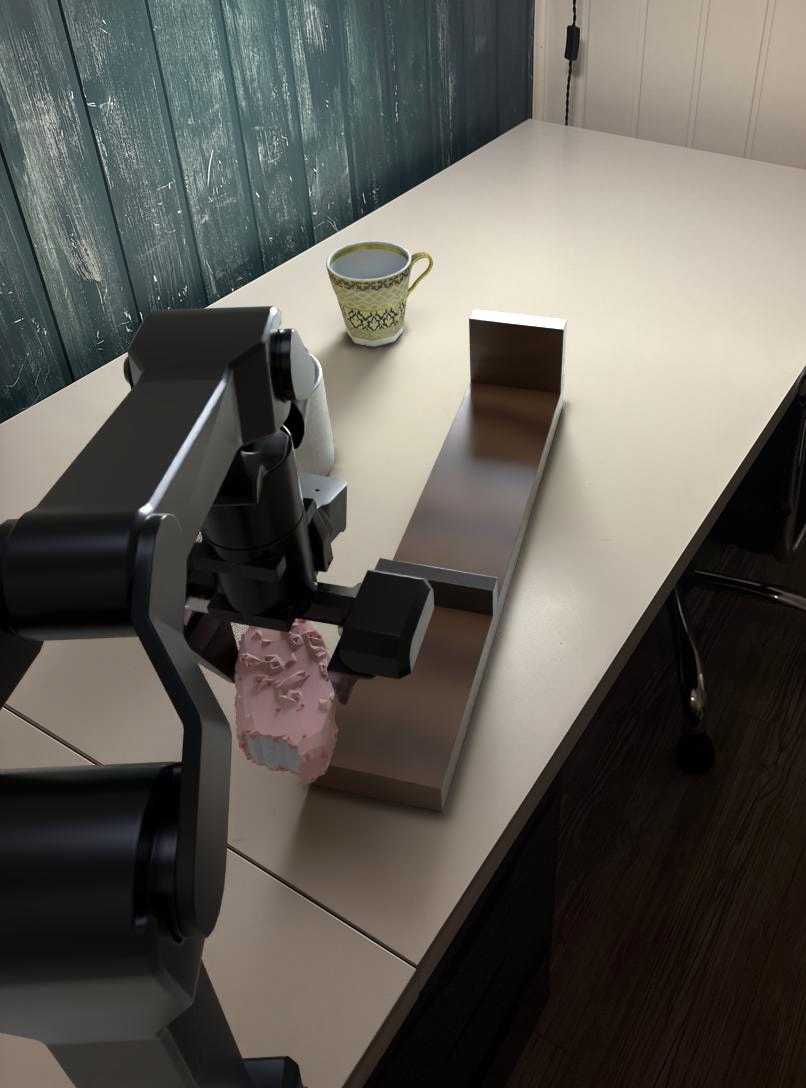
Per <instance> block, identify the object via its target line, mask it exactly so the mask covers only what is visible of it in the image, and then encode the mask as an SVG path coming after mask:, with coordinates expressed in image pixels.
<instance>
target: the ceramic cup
mask: <svg viewBox="0 0 806 1088" xmlns="http://www.w3.org/2000/svg"><path fill="white" fill-rule="evenodd" d="M422 259H428V262H429V263H428V266H427V268H426V269H425V270H424V271H423V272H422V273H421V274H420V275H418V277H417V278H416V279H415V280H414V282H413V283H412V284H411V286H410V280H411V279H410V278H411V271H412V269H413V266H414V265H415V264H416V263H417V262H419V261H421V260H422ZM433 266H434V260H433V258H432V256H431V255H430V254H429V253H427V252H424V251H419V252H415V253H412V255H411V253H410V252H409V250H408V249H406V248H405V247H403V246H402V245H399V244H397V243H394V242H389V241H384V240H364V241H357V242H352V243H348V244H345V245H343V246H341V247H339V248H337V249H335V250H333V251H332V252H331V253H330V254H329V255H328V257H326V261H325V267H326V270H327V274H328V278H329V281H330V284H331V288H332V290H333V291H334V294H335V296H336V300H337V303H338V306H339V309H340V313H341V315H342V319H343V323H344V325H345V327H346V332H347V334H348V336H349V337H350V338H351V340H352V342H353V343H354V344H357V345H362V346H367V347H373V348H376V347H379V346H384V345H387V344H391V343H392V344H393V343H394V342H395V341H396V340H397V339H398V338H399V337H400V336H401V334H403V332H404V328H405V327H404V326H405V316H406V309H407V301H408V298H409V296H410V294H411V293H412V292H414V291H415V289H416V287H417V286H418V285H419V284H420V282H421V281H423V279H425V277H426V276H428V275H429V273H430V272H431V271H432V269H433ZM409 286H410V287H409Z"/></svg>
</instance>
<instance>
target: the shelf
mask: <svg viewBox="0 0 806 1088" xmlns="http://www.w3.org/2000/svg"><path fill="white" fill-rule="evenodd" d="M567 327H568V320H567V319H561V318H552V317H544V316H534V315H526V314H518V313H509V312H500V311H490V310H482V309H472V312H471V313H470V316H469V318H468V333H469V335H468V339H469V343H468V344H469V378H470V379H469V381H470V382H469V384H468V387H467V388H466V391H465V394H464V396H463V397H462V400H461V402H460V405H459V407H458V410H457V412H456V413H455V417H454V418H453V420H452V423H451V426H450V428H449V430H448V433H447V434H446V436H445V439H444V441H443V444H442V446H441V449H440V451H439V453H438V455H437V458H436V460H435V462H434V464H433V467H432V469H431V470H430V474H429V476H428V478H427V480H426V483H425V485H424V487H423V489H422V491H421V493H420V496H419V499H418V501H417V503H416V505H415V508H414V510H413V513H412V514H411V517H410V519H409V521H408V524H407V525H406V527H405V530H404V533H403V535H402V537H401V540H400V541H399V544H398V547H397V549H396V551H395V553H394V556H393V558H392V559H389V558H382V557H379V558H378V561H377V563H376V565H375V567H374V569H373V570H378V571H384V572H390V573H397V574H403V575H409V576H415V577H421V578H427V580H428V582H429V583H430V585H431V587H432V588H433V595H434V609H433V612H432V615H431V618H430V621H429V624H428V627H427V629H426V632H425V635H424V638H423V641H422V644H421V647H420V650H419V652H418V655H417V658H416V661H415V664H414V667H413V670H412V673H411V674H409V675H407V676H405V677H403V678H401V679H399V680H398V679H393V678H387V677H382V676H376V677H375V678H373V679H371V680H364V679H359V680H358V681H357V682H356V683H355V685H354V688H353V691H352V693H351V696H350V698H349V701H348V703H347V705H344V704H341V703H340V702H339V700H338V699H337V698H336V695H335V692H334V691H333V694H334V695H335V698H336V701H337V703H336V713H335V723H336V726H337V728H338V735H337V741H336V743H335V748H333V753H332V757H331V759H330V762H329V766H328V769H327V772H326V773H325V774H324V775H321V776H319V777H318V778H317V779H316V780H315V781H314V782H311V783H310V784H311V785H317V786H321V787H324V788H325V787H326V788H330V789H334V790H340V791H344V792H348V793H353V794H358V795H361V796H367V797H371V798H374V799H375V798H376V799H379V800H380V799H381V800H385V801H389V802H394V803H398V804H403V805H408V806H412V807H417V808H421V809H425V810H430V811H435V812H440V813H443V812H444V808H445V804H446V802H447V799H448V795H449V792H450V789H451V785H452V781H453V778H454V774H455V772H456V768H457V765H458V761H459V758H460V754H461V751H462V747H463V744H464V740H465V737H466V734H467V731H468V728H469V724H470V720H471V718H472V714H473V710H474V707H475V703H476V700H477V697H478V693H479V690H480V687H481V683H482V681H483V677H484V673H485V669H486V666H487V663H488V659H489V656H490V653H491V650H492V646H493V643H494V640H495V635H496V633H497V630H498V627H499V626H498V625H499V623H500V620H501V616H502V612H503V609H504V606H505V602H506V599H507V596H508V592H509V589H510V585H511V582H512V578H513V575H514V572H515V568H516V564H517V562H518V558H519V555H520V551H521V548H522V544H523V541H524V537H525V534H526V531H527V528H528V525H529V521H530V518H531V514H532V511H533V508H534V504H535V501H536V498H537V494H538V490H539V487H540V484H541V480H542V477H543V473H544V470H545V467H546V463H547V460H548V457H549V454H550V453H549V452H550V450H551V446H552V444H553V441H554V436H555V433H556V430H557V427H558V423H559V419H560V416H561V413H562V410H563V406H564V388H565V387H564V386H565V384H564V383H565V368H566V367H565V366H566V347H567V329H568V328H567Z"/></svg>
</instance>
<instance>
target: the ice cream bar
mask: <svg viewBox="0 0 806 1088" xmlns="http://www.w3.org/2000/svg"><path fill="white" fill-rule="evenodd" d="M238 646H239V647H238V651H239V652H238V657H237V661H236V665H235V670H236V673H235V684H234V687H235V689H236V690H235V691H236V694H235V696H234V709H235V710H234V711H235V724H236V727H235V734H236V735H235V736H236V740H237V741H238V748H239V749H240V750H241V751H242V752H243V753H244V756H245V757H246V760H247V761H251V763H252V764H255V765H256V766H258V767H261V766H265V767H266V768H267V769H268V770H269V771H270V772H283V773H285V772H289V773H290V774H292V775H294V776H297V777H298V778H300V780H299V781H300V782H299V783H300V784H301V785H302V786H307V785H310V784H311V782H314V781H315V780H316V779H317V778H318V777H319V776H321V775H324V774H325V773H326V772H327V769H328V766H329V762H330V759H331V757H332V753H333V748H335V743H336V741H337V735H338V728H337V726H336V723H335V713H336V703H337V701H336V698H335V695H334V690H333V687H332V684H331V681H330V679H329V676H328V673H327V666H328V664H329V662H330V660H331V655H330V653H329V650H328V648H327V644H326V643H325V641H324V639H323V636H322V634H321V633H320V632H319V630H318V629H317V628H316V627H315V626H314V625H313V623H312V621H308V620H303V619H295V621H294V623H293V625H292V627H291V629H290V631H289V633H287V632H282V631H276V630H270V629H265V628H259V627H254V626H247V629H246V631H245V632H244V633H242V634H241V636H240V639H238Z"/></svg>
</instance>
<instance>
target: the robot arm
mask: <svg viewBox="0 0 806 1088" xmlns="http://www.w3.org/2000/svg"><path fill="white" fill-rule="evenodd" d="M282 323H283V313H282V311H281V310H280V309H279V308H278V307H277V306H276V305H264V306H263V305H262V306H232V307H231V306H229V307H201V308H170V309H169V308H168V309H153V310H150V311H149V312H148V313H147V314H146V315H145V317H144V318H143V319H142V321H141V322H140V325H139V327H138V329H137V330H136V332H135V334H134V335H133V336H132V338H131V339H130V342H129V343H127V349H126V351H127V357H125V359H124V361H123V369H122V371H123V377H124V379H125V381H126V383H127V384H128V385H129V387H130V391H129V392H128V393H126V395H125V397H124V398H123V400H122V401H121V402H120V403H119V404H118V405H117V406H116V408H115V409H114V410H113V412H112V413H111V414H110V415H109V416H108V417H107V419H106V420H105V421H104V423H103V424H102V425H101V426H100V428H98V430H97V431H96V432H95V434H93V436H92V437H91V438H90V440H89V441H88V442H87V443H86V445H85V446H84V447H83V449H82V450H81V451H80V452H78V455H77V456H76V457H75V458H74V459H73V461H72V462H71V463H70V465H68V466H67V468H66V469H65V471H64V472H63V473H62V474H61V475H60V476H59V477H58V479H57V480H56V481H55V483H54V484H53V485H52V486H51V488H50V489H49V490H48V491H47V492H46V494H45V495H44V496H43V497H42V498H41V500H39V502H38V503H37V505H36V506H35V507H34V508H32V509H30V510H27V511H25V512H24V513H23V514H22V515H21V516H19V517H18V518H8V519H5V520H4V521H3V522H2V523H0V711H2V709H3V708H4V706H5V704H6V703H7V702H8V700H9V699H10V697H11V696H12V694H13V693H14V691H15V690H16V688H17V687H18V686H19V684H20V682H22V680H23V678H24V676H25V675H26V674H27V672H28V670H29V669H30V668H31V666H32V664H33V663H34V662H35V660H36V659H37V657H38V656H39V654H40V652H41V651H42V649H43V646H44V643H45V642H48V641H49V642H51V641H73V640H75V641H76V640H98V639H121V638H122V639H123V638H125V639H126V638H138V640H139V641H140V644H141V646H142V647H143V650H144V651H145V654H146V656H147V657H148V659H149V661H150V663H151V665H152V667H153V670H154V671H155V673H156V675H157V677H158V679H159V681H160V683H161V685H162V686H163V689H164V691H165V693H166V695H167V697H168V698H169V700H170V702H171V704H172V706H173V708H174V710H175V712H176V714H177V716H178V718H179V720H180V722H181V724H182V729H183V734H182V746H181V747H182V748H181V760H180V761H154V762H151V761H150V762H132V763H131V762H130V763H109V764H106V763H105V764H87V765H86V764H85V765H84V764H83V765H62V766H61V765H59V766H42V767H41V766H40V767H39V766H38V767H19V768H18V767H17V768H0V1034H3V1035H8V1036H13V1037H19V1038H23V1039H27V1040H34V1041H37V1042H40V1043H41V1044H43V1045H44V1046H45V1047H46V1048H47V1049H48V1051H49V1052H50V1054H51V1055H52V1056H53V1058H54V1059H55V1060H56V1062H57V1063H58V1065H59V1066H60V1068H61V1069H62V1071H63V1072H64V1073H65V1075H66V1076H67V1078H68V1079H69V1080H70V1082H71V1083H72V1084H73V1086H74V1087H75V1088H309V1087H308V1085H307V1086H306V1085H304V1083H303V1080H302V1075H301V1070H300V1064H298V1062H297V1061H296V1060H294V1059H293V1058H292V1057H291V1056H290V1055H276V1056H275V1055H274V1056H258V1057H257V1056H256V1057H243V1056H242V1054H241V1051H240V1049H239V1046H238V1044H237V1041H236V1039H235V1037H234V1034H233V1031H232V1029H231V1027H230V1024H229V1022H228V1019H227V1017H226V1014H225V1012H224V1009H223V1007H222V1005H221V1003H220V1001H219V1000H220V999H219V998H218V995H217V992H216V990H215V988H214V985H213V983H212V981H211V978H210V975H209V973H208V971H207V968H206V965H205V963H204V961H203V959H202V958H203V953H204V949H205V948H204V947H205V942H206V939H209V937H210V935H211V934H212V933H213V931H214V930H215V928H216V925H217V922H218V919H219V916H220V913H221V909H222V903H223V898H224V891H225V883H226V875H227V874H226V872H227V860H228V859H227V858H228V838H229V837H228V836H229V815H230V792H231V791H230V790H231V771H232V770H231V769H232V749H233V748H232V746H233V734H232V728H231V724H230V721H229V720H228V718H227V716H226V714H225V712H224V710H223V709H222V706H221V705H220V702H219V701H218V699H217V697H216V695H215V693H214V692H213V689H212V687H211V685H210V684H209V681H208V680H207V677H206V676H205V674H204V672H203V670H202V668H201V666H202V667H203V668H205V669H207V670H208V671H210V672H211V673H213V674H215V675H216V676H218V677H219V678H221V679H222V680H224V681H226V682H227V683H229V684H233V685H235V673H236V670H235V665H236V661H237V657H238V652H239V647H238V644H237V640H236V637H235V633H234V630H233V627H232V624H237V625H242V626H243V625H244V626H247V627H249V626H254V627H259V628H265V629H270V630H276V631H282V632H287V633H289V631H290V629H291V627H292V625H293V623H294V621H295V619H303V620H308V621H310V622H315V623H320V624H325V625H332V626H336V627H337V633H338V636H340V637H339V639H338V641H337V644H336V645H335V648H334V651H333V653H332V655H331V656H330V659H331V660H330V662H329V664H328V666H327V673H328V676H329V679H330V681H331V684H332V687H333V690H332V691H333V693H334V692H335V695H336V698H337V699H338V700H339V702H340V703H341V704H344V705H347V703H348V701H349V698H350V696H351V693H352V691H353V688H354V685H355V683H356V682H357V681H358V680H359V679H364V680H371V679H373V678H375V677H376V676H382V677H387V678H393V679H398V680H399V679H401V678H403V677H405V676H407V675H409V674H411V673H412V670H413V667H414V664H415V661H416V658H417V655H418V652H419V650H420V647H421V644H422V641H423V638H424V635H425V632H426V629H427V627H428V624H429V621H430V618H431V615H432V612H433V609H434V595H433V588H432V587H431V585H430V583H429V582H428V580H427V578H421V577H415V576H409V575H403V574H397V573H390V572H384V571H378V570H374V569H367V570H366V572H365V575H364V577H363V580H362V581H361V582H358V583H357V584H355V585H354V586H346V585H339V584H333V583H329V582H328V583H327V582H321V581H318V578H317V577H318V574H319V573H320V572H321V573H328V570H329V568H330V567H331V564H332V562H333V561H334V554H333V547H332V543H333V541H334V540H335V539H336V538H337V537H339V536H340V534H341V533H344V532H345V531H346V529H347V517H348V515H347V514H348V513H347V512H348V510H347V509H348V482H347V481H346V480H345V479H342V478H338V477H331V476H319V475H312V474H305V473H298V469H297V463H296V458H295V452H294V449H297V448H298V447H299V446H300V444H301V443H302V440H303V437H304V434H305V428H306V422H307V416H308V409H309V403H310V398H311V397H312V391H313V385H314V379H315V370H314V367H315V365H314V360H313V357H312V356H311V355H312V354H311V353H310V351H309V350H308V348H307V347H306V346H305V345H304V343H303V340H302V338H301V337H300V334H299V332H298V330H297V329H296V328H295V327H294V328H291V327H290V328H280V327H281V325H282ZM310 354H311V355H310ZM199 535H201V541H199V540H197V539H198V537H199Z"/></svg>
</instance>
